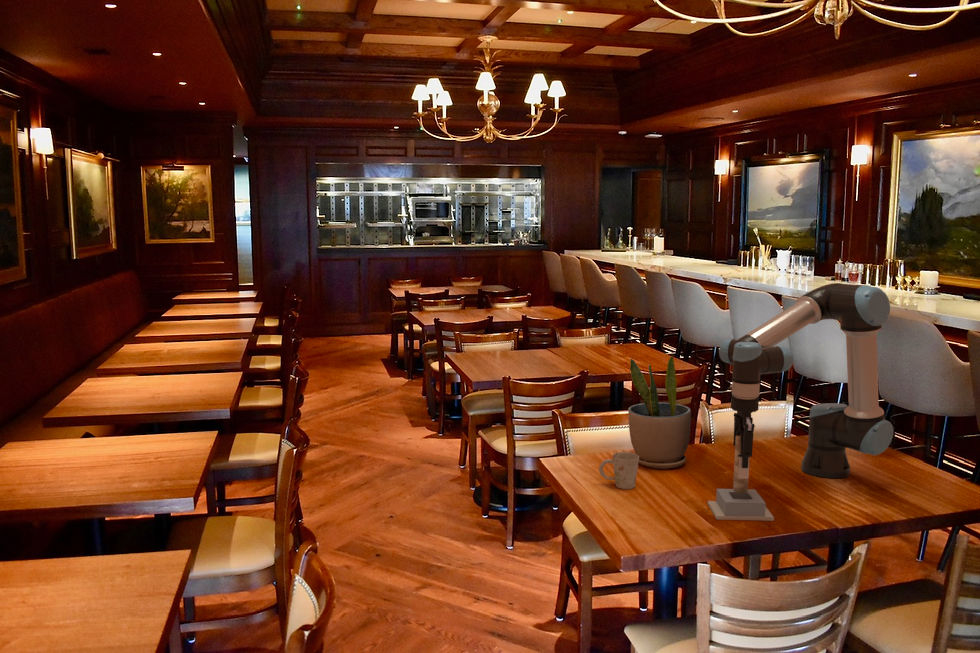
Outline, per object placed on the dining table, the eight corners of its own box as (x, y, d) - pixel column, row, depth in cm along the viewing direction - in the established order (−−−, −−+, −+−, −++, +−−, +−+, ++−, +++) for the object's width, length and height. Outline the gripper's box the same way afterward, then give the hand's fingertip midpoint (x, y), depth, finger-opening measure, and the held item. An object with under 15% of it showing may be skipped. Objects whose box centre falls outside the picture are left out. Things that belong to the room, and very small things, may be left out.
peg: (745, 488, 232) (748, 435, 230) (749, 493, 228) (751, 439, 226) (731, 488, 232) (734, 435, 230) (735, 492, 228) (737, 439, 226)
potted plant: (614, 461, 278) (616, 349, 272) (653, 449, 292) (656, 342, 286) (663, 476, 262) (666, 357, 256) (701, 463, 276) (706, 350, 270)
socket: (762, 505, 237) (762, 489, 236) (773, 520, 225) (774, 503, 224) (707, 504, 238) (708, 488, 237) (716, 519, 226) (717, 502, 225)
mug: (638, 491, 249) (638, 460, 247) (597, 488, 251) (598, 458, 250) (638, 482, 257) (639, 452, 255) (599, 480, 259) (600, 450, 258)
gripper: (724, 389, 235) (721, 466, 238) (739, 403, 218) (735, 485, 221) (750, 390, 234) (746, 466, 238) (766, 403, 218) (762, 485, 221)
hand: (741, 475), depth 229 cm, fingers closed on peg, 4 cm apart
